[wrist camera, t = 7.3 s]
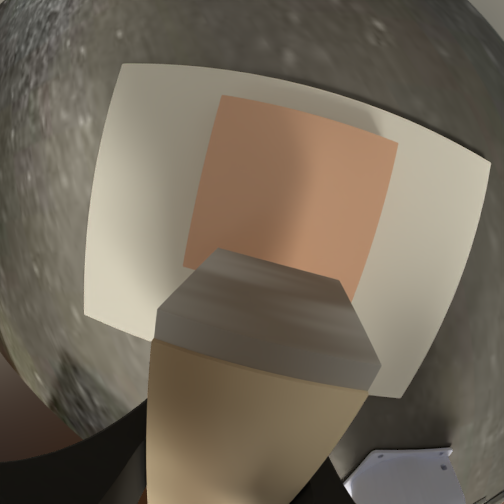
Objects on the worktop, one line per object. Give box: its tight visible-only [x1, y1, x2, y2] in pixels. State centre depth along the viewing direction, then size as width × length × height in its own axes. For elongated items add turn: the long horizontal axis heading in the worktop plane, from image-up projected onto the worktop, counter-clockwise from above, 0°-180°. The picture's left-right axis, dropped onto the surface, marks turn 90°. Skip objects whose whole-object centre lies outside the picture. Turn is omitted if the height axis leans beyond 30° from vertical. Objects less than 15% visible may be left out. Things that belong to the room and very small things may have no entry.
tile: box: [183, 95, 398, 302], centre depth 13 cm, size 8×2×8 cm
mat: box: [84, 63, 491, 398], centre depth 15 cm, size 22×16×1 cm
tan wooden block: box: [146, 248, 382, 504], centre depth 8 cm, size 4×11×5 cm, turn 166°
